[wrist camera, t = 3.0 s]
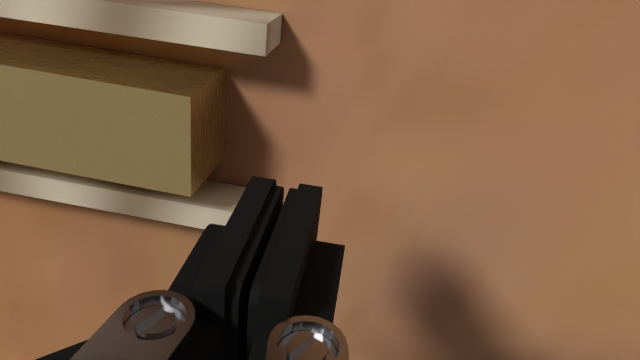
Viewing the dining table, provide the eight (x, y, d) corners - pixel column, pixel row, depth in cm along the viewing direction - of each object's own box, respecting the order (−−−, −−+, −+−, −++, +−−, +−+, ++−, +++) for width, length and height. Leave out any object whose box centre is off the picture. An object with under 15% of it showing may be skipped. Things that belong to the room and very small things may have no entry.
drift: (228, 67, 19) (190, 97, 16) (225, 154, 21) (191, 197, 18) (-111, 11, 20) (-208, 29, 17) (-87, 97, 22) (-172, 127, 19)
